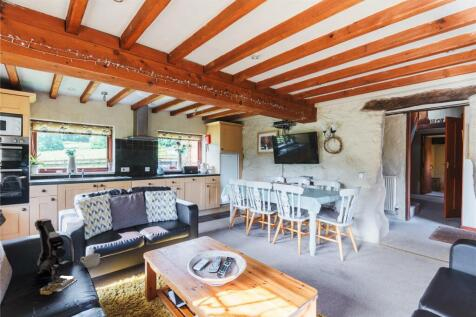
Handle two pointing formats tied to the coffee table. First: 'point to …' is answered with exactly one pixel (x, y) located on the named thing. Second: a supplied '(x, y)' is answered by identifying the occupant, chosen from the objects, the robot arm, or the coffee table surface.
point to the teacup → (91, 260)
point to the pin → (53, 273)
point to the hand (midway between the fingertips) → (54, 276)
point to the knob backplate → (57, 285)
